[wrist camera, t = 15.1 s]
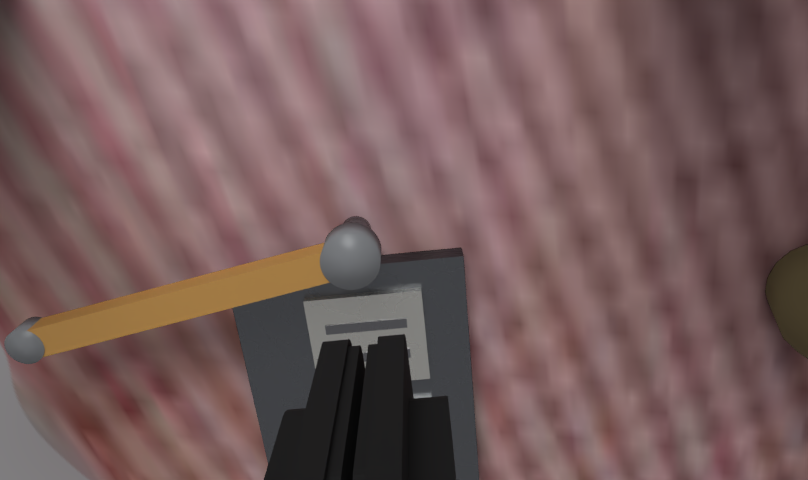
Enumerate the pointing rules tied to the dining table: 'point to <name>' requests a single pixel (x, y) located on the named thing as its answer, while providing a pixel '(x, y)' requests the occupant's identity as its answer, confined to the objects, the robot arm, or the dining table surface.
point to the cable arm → (204, 294)
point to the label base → (368, 339)
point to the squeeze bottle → (791, 297)
